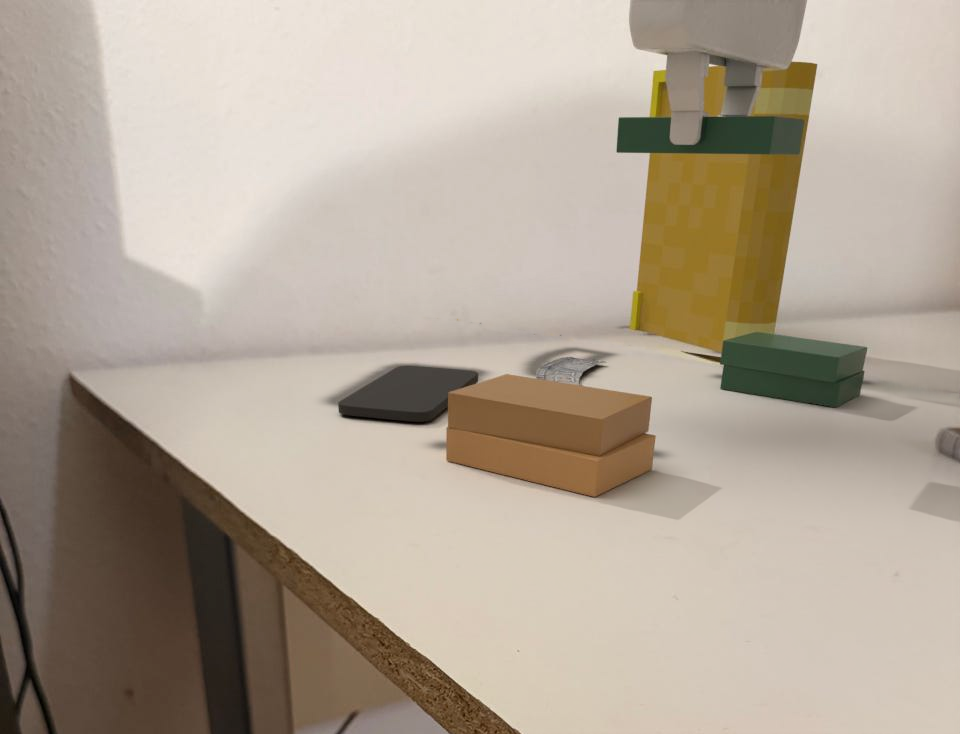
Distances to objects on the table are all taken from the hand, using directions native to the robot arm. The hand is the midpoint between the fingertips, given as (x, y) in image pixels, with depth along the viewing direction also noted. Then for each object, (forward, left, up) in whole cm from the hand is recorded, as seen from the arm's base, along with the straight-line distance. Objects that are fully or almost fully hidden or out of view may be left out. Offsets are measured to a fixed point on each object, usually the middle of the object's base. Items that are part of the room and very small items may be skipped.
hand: (709, 145), depth 61 cm
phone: (+20, +6, -18) cm, 28 cm away
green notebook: (0, 0, -1) cm, 1 cm away
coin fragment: (+16, -11, -18) cm, 27 cm away
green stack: (-2, -18, -18) cm, 26 cm away
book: (+12, -31, -19) cm, 38 cm away
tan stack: (+2, +14, -18) cm, 23 cm away
